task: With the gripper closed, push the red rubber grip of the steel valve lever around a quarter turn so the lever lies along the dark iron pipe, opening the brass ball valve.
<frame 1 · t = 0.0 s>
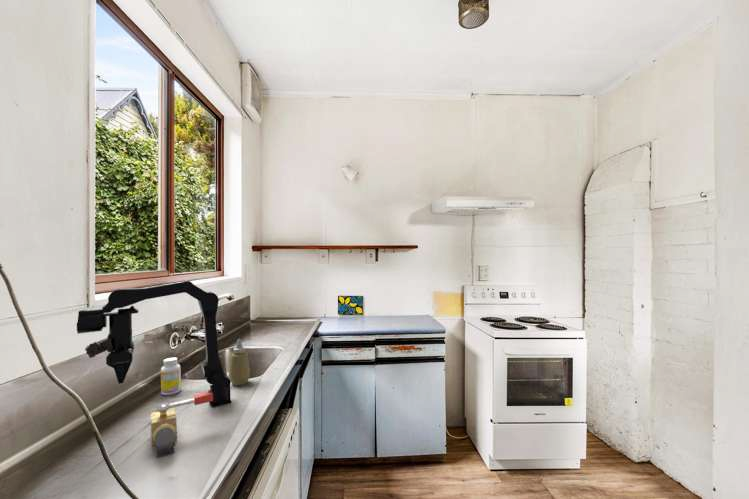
hand: (121, 378, 108), 15 cm above the counter, tool pointing down, fingers open, 9 cm apart
valve body: (163, 438, 100), on the counter
valve lever: (185, 402, 103), point 9 cm above the counter, hinge at 0.0°
squeeze bottle: (240, 383, 142), on the counter
supplement bottle: (171, 392, 134), on the counter
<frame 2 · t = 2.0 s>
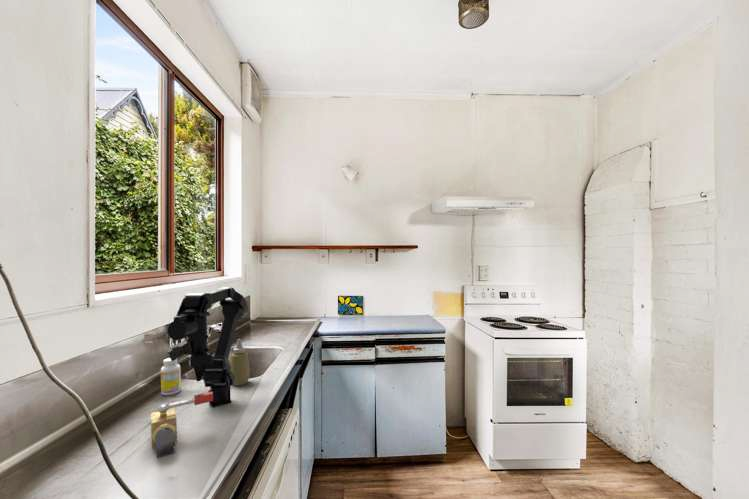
hand: (198, 380, 111), 12 cm above the counter, tool pointing down, fingers closed
nothing on the counter moved.
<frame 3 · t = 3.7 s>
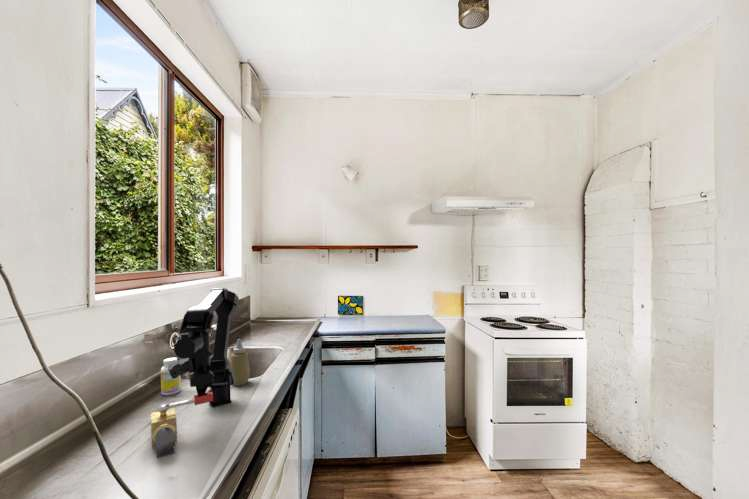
hand: (200, 399, 107), 8 cm above the counter, tool pointing down, fingers closed
valve lever: (185, 402, 103), point 9 cm above the counter, hinge at 0.1°, touching gripper
everything else where it was.
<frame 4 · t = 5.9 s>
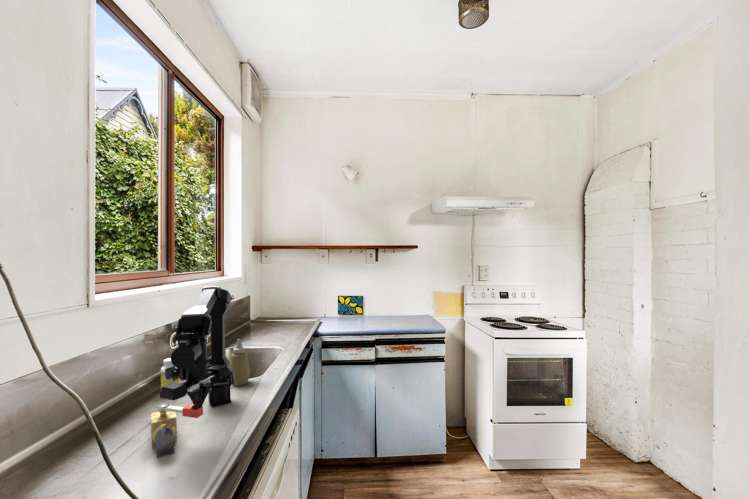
hand: (198, 410, 99), 8 cm above the counter, tool pointing down, fingers closed
valve lever: (179, 409, 98), point 9 cm above the counter, hinge at 50.3°, touching gripper
everything else where it was.
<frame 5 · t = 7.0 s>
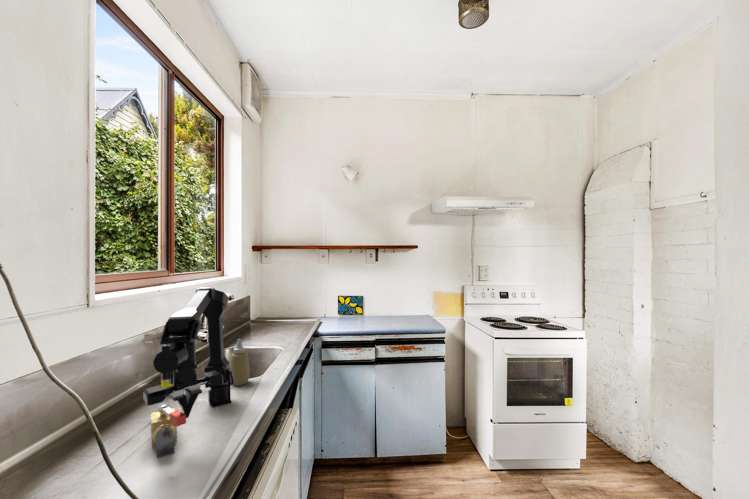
hand: (186, 417, 95), 8 cm above the counter, tool pointing down, fingers closed
valve lever: (170, 413, 96), point 9 cm above the counter, hinge at 73.8°, touching gripper
everything else where it was.
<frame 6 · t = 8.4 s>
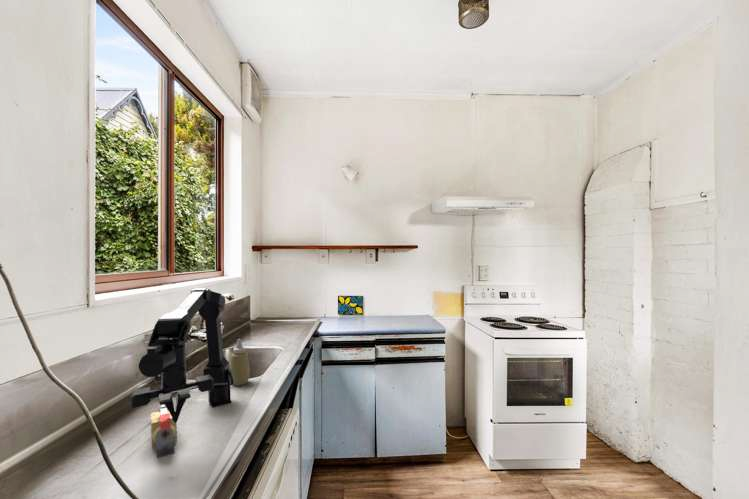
hand: (175, 421, 93), 8 cm above the counter, tool pointing down, fingers closed
valve lever: (164, 415, 95), point 9 cm above the counter, hinge at 90.0°, touching gripper
everything else where it was.
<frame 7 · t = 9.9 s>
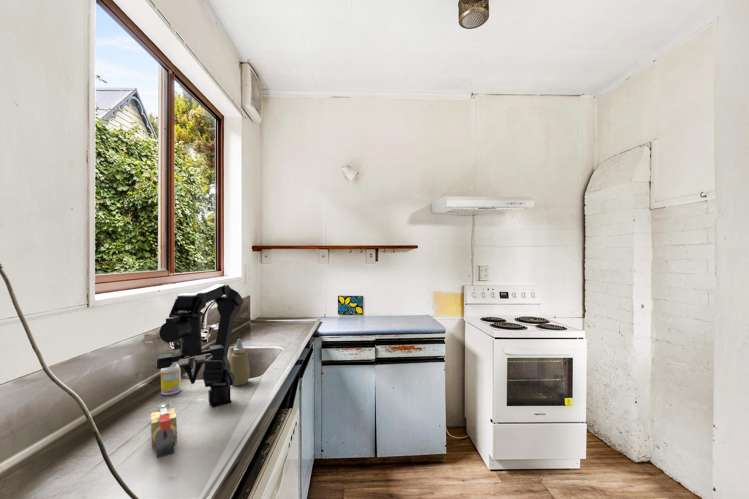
hand: (192, 383, 108), 13 cm above the counter, tool pointing down, fingers closed
valve lever: (164, 415, 95), point 9 cm above the counter, hinge at 90.1°
everything else where it was.
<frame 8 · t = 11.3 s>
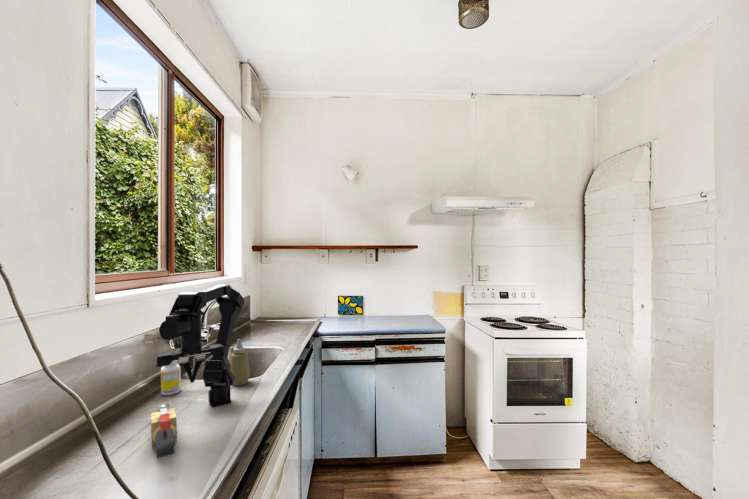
hand: (192, 382, 108), 13 cm above the counter, tool pointing down, fingers closed
nothing on the counter moved.
at the end: valve lever at +90° (first picture: +0°); the gripper is holding nothing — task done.
